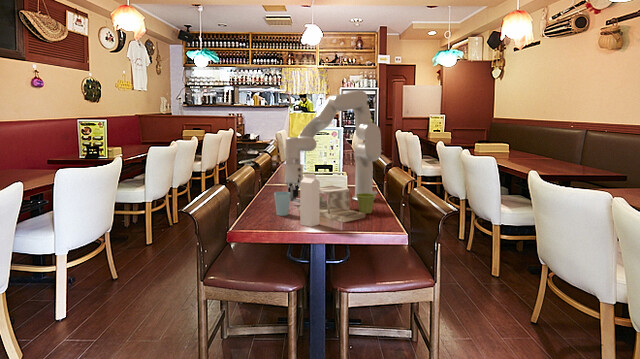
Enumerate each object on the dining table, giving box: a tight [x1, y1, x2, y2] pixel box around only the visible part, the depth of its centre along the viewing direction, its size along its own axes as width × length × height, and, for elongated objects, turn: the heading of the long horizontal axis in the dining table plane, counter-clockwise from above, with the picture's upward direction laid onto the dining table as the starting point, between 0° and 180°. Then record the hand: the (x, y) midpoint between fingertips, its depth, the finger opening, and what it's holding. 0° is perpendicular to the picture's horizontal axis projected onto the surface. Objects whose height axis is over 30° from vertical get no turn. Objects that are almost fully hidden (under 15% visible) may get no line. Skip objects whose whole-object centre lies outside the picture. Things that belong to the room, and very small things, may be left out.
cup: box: [273, 191, 291, 217], centre depth 219 cm, size 8×8×10 cm
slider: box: [290, 185, 328, 207], centre depth 234 cm, size 22×9×8 cm, turn 43°
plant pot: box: [356, 193, 377, 215], centre depth 225 cm, size 9×9×9 cm
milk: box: [299, 173, 321, 228], centre depth 200 cm, size 6×6×22 cm
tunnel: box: [297, 185, 366, 223], centre depth 221 cm, size 32×14×12 cm, turn 43°
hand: (293, 196), depth 242 cm, fingers closed on slider, 3 cm apart
